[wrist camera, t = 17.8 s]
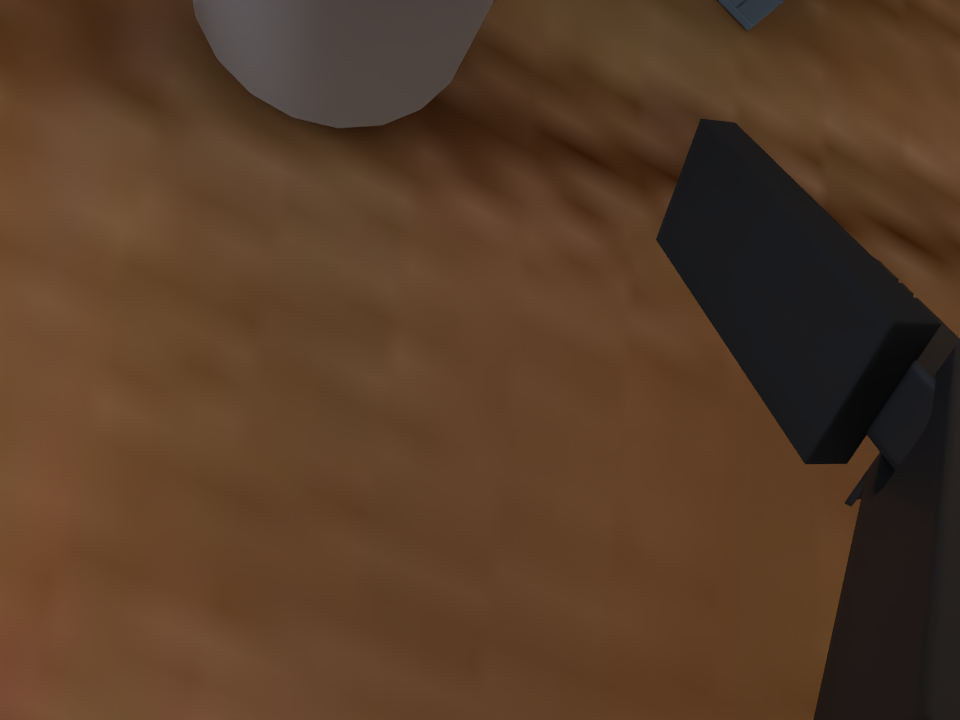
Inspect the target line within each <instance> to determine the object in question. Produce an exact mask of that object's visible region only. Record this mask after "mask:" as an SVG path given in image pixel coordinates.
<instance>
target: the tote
mask: <svg viewBox="0 0 960 720" xmlns="http://www.w3.org/2000/svg"><path fill="white" fill-rule="evenodd" d="M718 1H719V2H720V3H721V4H722V5H723V6H724V7H725V8H726V9H727V10H728V11H729V12H730V13H731V14H732V15H733V16H734V17H735V18H736V20H737V21H738V22H739V23H740V24H741V25H742V26H743V27H744V28H745V29H746V30H747V31H749V30H750V29H752V28H753V27H754V26H755V25H756V24H757V23H759V22H760V21H761V20H762V19H763V18H765V17H766V16H767V15H768V14H769V13H771V12H772V11H773V10H774V9H775V8H777V7H778V6H779V5H780V4H781V3H783V2H784V1H785V0H718Z"/></svg>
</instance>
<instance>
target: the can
mask: <svg viewBox="0 0 960 720" xmlns="http://www.w3.org/2000/svg"><path fill="white" fill-rule="evenodd" d="M493 2H494V0H193V6H194V12H195V17H196V19H197V21H198V23H199V25H200V27H201V29H202V31H203V33H204V35H205V36H206V38H207V40H208V42H209V44H210V46H211V48H212V50H213V52H214V54H215V56H216V58H217V59H218V60H219V62H220V63H221V64H222V65H223V66H224V67H225V68H226V69H227V70H228V71H229V72H230V73H231V74H232V75H233V76H234V77H235V78H236V79H237V80H238V81H239V82H240V83H241V84H242V85H243V86H244V87H245V88H246V89H247V90H248V91H249V93H250V94H252V95H254V96H256V97H257V98H259V99H261V100H263V101H264V102H266V103H268V104H270V105H271V106H273V107H275V108H277V109H278V110H280V111H282V112H284V113H285V114H287V115H289V116H291V117H292V118H296V119H301V120H305V121H309V122H313V123H318V124H322V125H326V126H330V127H334V128H351V127H366V126H380V125H384V124H387V123H389V122H392V121H394V120H397V119H399V118H401V117H404V116H406V115H409V114H411V113H414V112H416V111H419V110H421V109H422V108H423V107H424V106H425V105H427V104H428V103H429V102H430V101H431V100H432V99H433V98H434V97H435V96H437V95H438V94H439V93H440V92H441V91H442V90H443V89H444V88H445V87H447V86H448V85H449V84H450V83H451V81H452V79H453V77H454V76H455V74H456V72H457V70H458V68H459V66H460V64H461V62H462V61H463V59H464V57H465V55H466V53H467V51H468V49H469V47H470V45H471V44H472V42H473V40H474V38H475V36H476V34H477V32H478V30H479V28H480V26H481V25H482V23H483V21H484V19H485V17H486V15H487V13H488V11H489V9H490V8H491V6H492V4H493Z"/></svg>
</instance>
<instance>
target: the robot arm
mask: <svg viewBox="0 0 960 720" xmlns="http://www.w3.org/2000/svg"><path fill="white" fill-rule="evenodd" d="M656 240H657V242H658V243H659V245H660V246H661V248H662V249H663V251H664V252H665V254H666V255H667V257H668V258H669V260H670V261H671V263H672V264H673V266H674V267H675V269H676V270H677V272H678V273H679V275H680V276H681V278H682V279H683V281H684V282H685V284H686V285H687V287H688V288H689V290H690V291H691V293H692V294H693V296H694V297H695V299H696V300H697V302H698V303H699V305H700V306H701V308H702V310H703V311H704V313H705V314H706V316H707V317H708V319H709V320H710V322H711V323H712V325H713V326H714V328H715V329H716V331H717V332H718V334H719V335H720V337H721V338H722V340H723V341H724V343H725V344H726V346H727V347H728V349H729V350H730V352H731V353H732V355H733V356H734V358H735V359H736V361H737V362H738V364H739V365H740V367H741V368H742V370H743V371H744V373H745V374H746V376H747V377H748V379H749V380H750V382H751V383H752V385H753V386H754V388H755V389H756V391H757V392H758V394H759V395H760V397H761V398H762V400H763V401H764V403H765V404H766V406H767V407H768V409H769V410H770V412H771V413H772V415H773V416H774V418H775V419H776V421H777V422H778V424H779V425H780V427H781V428H782V430H783V431H784V433H785V434H786V436H787V437H788V439H789V440H790V442H791V443H792V445H793V446H794V448H795V449H796V451H797V453H798V454H799V456H800V457H801V459H802V460H803V462H804V463H805V464H847V463H848V461H849V460H850V458H851V457H852V456H853V454H854V453H855V451H856V450H857V448H858V447H859V445H860V444H861V442H862V441H863V439H864V438H865V436H866V435H868V437H869V438H870V439H871V440H872V442H873V443H874V444H875V446H876V447H877V448H878V450H879V451H880V453H879V454H878V456H877V457H876V459H875V460H874V462H873V463H872V464H871V466H870V467H869V469H868V470H867V471H866V473H865V474H864V476H863V477H862V478H861V480H860V481H859V483H858V484H857V486H856V487H855V488H854V490H853V491H852V493H851V494H850V495H849V497H848V498H847V500H846V501H845V504H847V505H849V506H852V505H853V504H854V502H855V501H856V500H857V499H861V503H860V507H859V512H858V516H857V521H856V526H855V530H854V535H853V540H852V544H851V549H850V553H849V558H848V563H847V567H846V572H845V577H844V581H843V586H842V590H841V595H840V600H839V604H838V609H837V614H836V618H835V623H834V627H833V632H832V637H831V641H830V646H829V651H828V655H827V660H826V664H825V669H824V674H823V678H822V683H821V688H820V692H819V697H818V702H817V706H816V711H815V715H814V720H960V339H959V338H958V337H957V336H956V335H955V334H954V333H953V332H952V331H951V330H950V329H949V328H948V327H947V326H946V325H945V324H944V323H943V322H942V321H941V320H940V319H939V318H938V317H937V316H936V315H935V314H934V313H932V312H931V311H930V310H929V309H928V308H927V307H926V306H925V305H924V304H923V303H922V302H921V301H920V300H919V299H918V298H914V297H913V295H914V294H913V293H912V292H911V291H910V290H909V289H908V288H907V287H906V286H905V285H904V284H903V283H899V282H898V280H899V279H898V278H897V277H895V276H894V275H893V274H892V273H891V272H890V271H889V270H888V269H887V268H886V267H885V266H884V265H883V264H882V263H881V262H880V261H878V260H877V259H875V258H874V257H872V256H871V255H870V254H869V253H868V252H867V251H866V250H865V249H864V248H863V247H862V246H861V245H860V244H859V243H858V242H857V241H856V240H855V239H854V238H853V237H852V236H851V235H850V234H849V233H847V232H846V231H845V230H844V229H843V228H842V227H841V226H840V225H839V224H838V223H837V222H836V221H835V220H834V219H833V218H832V217H831V216H830V215H829V214H828V213H827V212H826V211H825V210H824V209H823V208H822V207H821V206H820V205H819V204H818V203H817V202H816V201H815V200H814V199H813V198H812V197H811V196H810V195H809V194H808V193H807V192H806V191H805V190H804V189H802V188H801V187H800V186H799V185H798V184H797V183H796V182H795V181H794V180H793V179H792V178H791V177H790V176H789V175H788V174H787V173H786V172H785V171H784V170H783V169H782V168H781V167H780V166H779V165H778V164H777V163H776V162H775V161H774V160H773V159H772V158H771V157H770V156H769V155H768V154H767V153H766V152H765V151H764V150H763V149H762V148H761V147H760V146H759V145H757V144H756V143H755V142H754V141H753V140H752V139H751V138H750V137H749V136H748V135H747V134H746V133H745V132H744V131H743V130H742V129H741V128H740V127H739V126H738V125H737V124H736V123H734V122H725V121H717V120H708V119H700V122H699V125H698V127H697V130H696V133H695V136H694V138H693V141H692V144H691V146H690V149H689V152H688V154H687V157H686V160H685V163H684V165H683V168H682V171H681V173H680V176H679V179H678V182H677V184H676V187H675V190H674V192H673V195H672V198H671V200H670V203H669V206H668V209H667V211H666V214H665V217H664V219H663V222H662V225H661V228H660V230H659V233H658V236H657V238H656Z"/></svg>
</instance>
